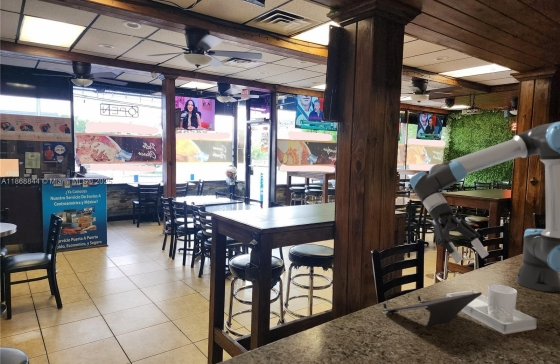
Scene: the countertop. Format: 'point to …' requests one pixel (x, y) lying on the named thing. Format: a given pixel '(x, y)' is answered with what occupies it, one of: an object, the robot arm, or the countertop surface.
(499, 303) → the white cup
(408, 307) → the portable electronic device stand
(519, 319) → the white divided tray
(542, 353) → the countertop surface
